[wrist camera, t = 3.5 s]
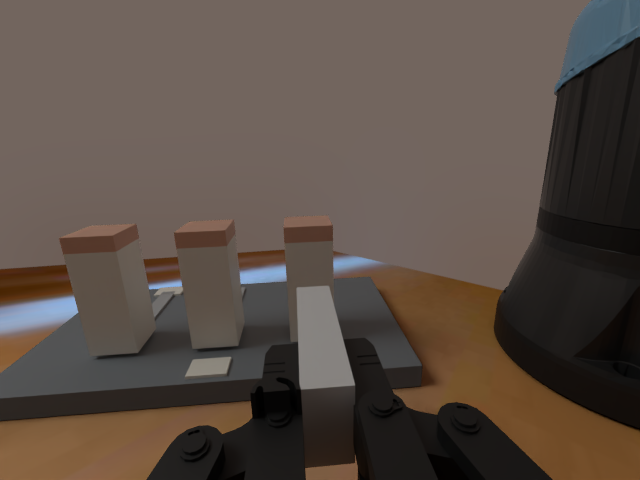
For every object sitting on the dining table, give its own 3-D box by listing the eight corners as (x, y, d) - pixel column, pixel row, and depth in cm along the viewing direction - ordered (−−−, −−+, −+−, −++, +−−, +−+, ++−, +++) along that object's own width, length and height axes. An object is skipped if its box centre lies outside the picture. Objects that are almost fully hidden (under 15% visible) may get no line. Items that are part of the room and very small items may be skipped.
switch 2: (329, 316, 25) (327, 215, 23) (334, 339, 22) (332, 225, 20) (290, 319, 25) (284, 217, 23) (290, 342, 22) (283, 227, 20)
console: (369, 290, 34) (370, 275, 33) (420, 386, 20) (422, 362, 20) (108, 306, 32) (104, 290, 31) (-27, 423, 18) (-37, 398, 18)
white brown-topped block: (156, 328, 24) (136, 223, 22) (137, 353, 21) (112, 235, 19) (114, 331, 24) (89, 225, 22) (90, 356, 21) (58, 238, 19)
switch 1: (244, 322, 25) (233, 219, 22) (238, 345, 22) (225, 230, 20) (204, 325, 24) (189, 221, 22) (192, 349, 22) (173, 232, 19)
